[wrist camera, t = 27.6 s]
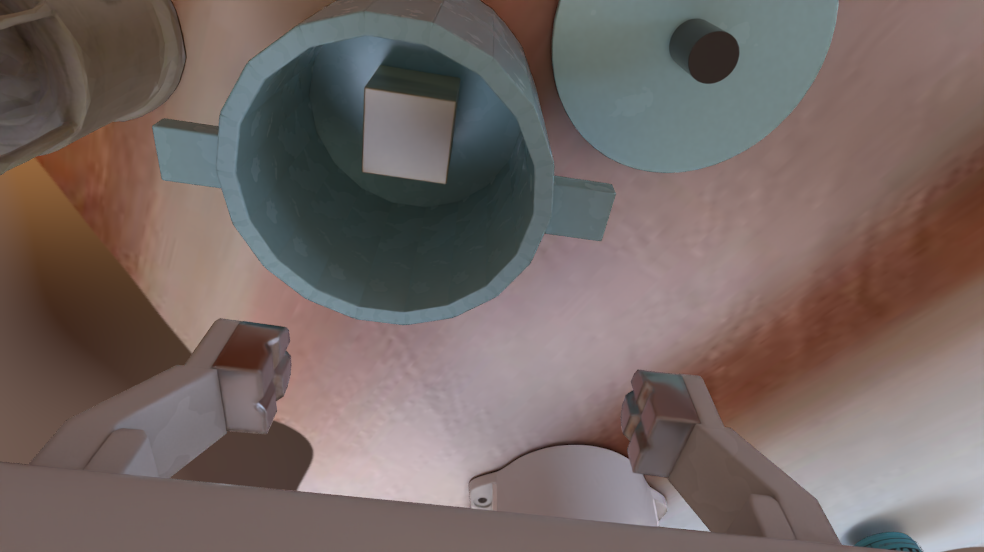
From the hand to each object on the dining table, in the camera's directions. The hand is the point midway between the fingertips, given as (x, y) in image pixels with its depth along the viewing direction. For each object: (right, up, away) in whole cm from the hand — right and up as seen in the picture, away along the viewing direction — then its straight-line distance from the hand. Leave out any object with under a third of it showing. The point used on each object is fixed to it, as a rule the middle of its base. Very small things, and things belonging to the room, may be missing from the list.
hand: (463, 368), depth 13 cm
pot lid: (+11, +15, +17) cm, 25 cm away
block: (-4, +12, +19) cm, 23 cm away
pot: (-4, +12, +19) cm, 23 cm away
